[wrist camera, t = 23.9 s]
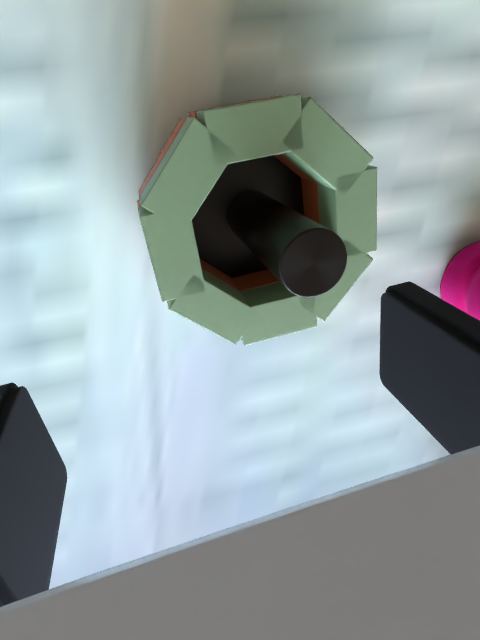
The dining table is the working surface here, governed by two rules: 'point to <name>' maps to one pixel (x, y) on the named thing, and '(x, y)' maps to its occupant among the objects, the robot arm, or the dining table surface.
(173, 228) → the ring green
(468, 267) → the pepper mill
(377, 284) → the dining table surface
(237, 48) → the dining table surface
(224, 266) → the peg stand
